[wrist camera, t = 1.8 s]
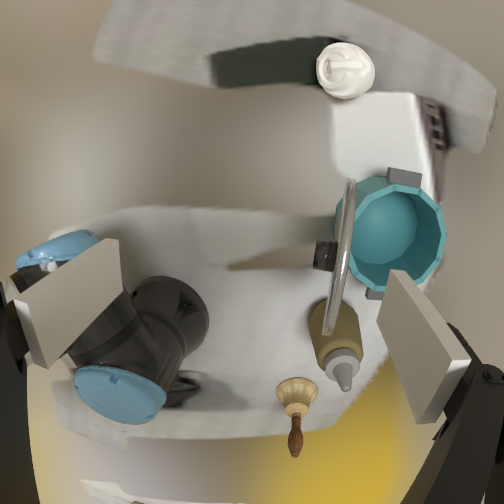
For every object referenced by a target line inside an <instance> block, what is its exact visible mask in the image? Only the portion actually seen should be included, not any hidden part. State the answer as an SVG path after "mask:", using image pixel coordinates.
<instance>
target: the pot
mask: <svg viewBox="0 0 504 504" xmlns="http://www.w3.org/2000/svg"><path fill="white" fill-rule="evenodd" d="M421 178H422V174H420V173H416V172H411V171H406V170H401V169H395V168H390V167H388V171H387V178H385V177H378V176H373V177H370V178H368V179H366V180H363V181H361V182H359V183H356V206H355V218H354V227H353V236H352V243H351V250H350V257H349V263H348V266H349V268H350V270H351V272H352V275H353V276H354V277H356V278H357V279H358V280H360V281H361V282H362V283H364V284H365V285H367V289H366V294H365V296H366V298H367V299H370V300H383V296H384V292H385V289H386V285H387V281H388V277H389V273H390V269H393V270H403V271H406V272H407V274H408V275H409V276H410V277H411V279H412V280H413V281H414V282H415V284H416V285H417V284H420V283H422V282H423V281H424V280H425V279H426V278H427V277H428V275H429V274H430V273H431V272H432V270H433V269H434V268H435V267H436V265H437V264H438V263H439V262H440V260H441V256H442V252H443V248H444V243H445V239H446V235H447V233H446V229H445V225H444V221H443V217H442V213H441V209H440V207H439V206H438V205H437V204H436V203H435V202H434V201H433V200H432V199H431V198H430V197H429V196H428V195H427V194H426V193H425V192H424V191H423V190H422V189H421V188H420V186H421ZM342 203H343V198H342V199H341V201H340V202H339V203H338V205H337V208H336V215H335V222H334V229H333V231H334V233H335V236H334V240H335V241H336V240H337V234H338V227H339V220H340V215H341V210H342Z"/></svg>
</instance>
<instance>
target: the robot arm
mask: <svg viewBox="0 0 504 504" xmlns="http://www.w3.org/2000/svg"><path fill="white" fill-rule="evenodd" d="M15 268H16V269H17V270H18V271H17V272H16V273H14V274H13V275H11V276H9V277H8V278H7V281H6V286H5V290H3V287H2V283H1V282H0V504H40V501H39V497H38V492H37V487H36V481H35V475H34V469H33V463H32V455H31V448H30V438H29V426H28V410H27V367H28V366H30V365H31V364H32V363H33V362H34V364H37V365H39V366H41V367H44V368H46V369H49V368H50V367H51V366H52V364H54V362H55V361H56V360H58V359H59V358H61V357H62V356H63V355H64V354H66V353H68V354H69V356H70V357H71V359H72V360H73V361H74V363H75V364H76V366H77V367H78V369H77V370H76V372H75V374H74V379H73V382H74V387H75V390H76V392H77V394H78V395H79V396H80V398H81V399H82V400H83V401H84V402H85V403H86V404H87V405H88V406H89V407H90V408H92V409H93V410H94V411H96V412H98V413H99V414H101V415H103V416H105V417H107V418H109V419H112V420H114V421H117V422H120V423H124V424H132V425H138V424H144V423H147V422H149V421H151V420H153V419H154V418H155V417H156V415H157V414H158V412H159V410H160V408H161V407H162V405H163V404H164V403H165V402H166V398H167V396H168V393H169V391H170V389H171V386H172V384H173V382H174V379H175V377H176V375H177V373H178V370H179V368H180V366H181V363H182V361H183V359H184V358H185V357H186V356H188V355H189V354H190V353H191V352H192V351H194V350H195V349H197V348H198V347H199V346H200V344H201V343H202V342H203V340H204V338H205V335H206V333H207V330H208V326H209V316H208V312H207V309H206V306H205V304H204V302H203V301H202V299H201V298H200V296H199V295H198V294H197V293H196V292H195V291H194V290H193V289H192V288H190V287H189V286H188V285H186V284H185V283H183V282H181V281H179V280H176V279H173V278H170V277H163V276H158V277H151V278H148V279H146V280H144V281H142V282H141V283H140V284H139V285H138V286H137V287H136V288H135V289H134V290H133V291H132V292H131V294H130V295H129V294H128V292H127V290H126V288H125V287H124V285H123V283H122V276H121V265H120V253H119V240H117V239H108V238H105V239H104V240H102V241H99V239H98V238H97V236H96V235H95V234H94V233H93V232H91V231H89V230H78V231H74V232H71V233H68V234H65V235H62V236H59V237H57V238H54V239H52V240H49V241H47V242H45V243H43V244H40V245H38V246H36V247H35V248H34V249H31V250H29V251H27V252H25V253H23V254H22V255H20V256H18V257H17V258H16V261H15ZM376 322H377V324H378V326H379V329H380V331H381V333H382V336H383V338H384V340H385V343H386V345H387V348H388V350H389V352H390V355H391V357H392V360H393V362H394V365H395V367H396V370H397V372H398V375H399V377H400V380H401V383H402V385H403V388H404V390H405V393H406V396H407V398H408V401H409V404H410V407H411V409H412V412H413V415H414V418H415V421H416V424H428V423H435V422H436V421H437V419H438V418H439V416H440V415H441V413H442V411H443V410H444V413H445V415H446V417H447V419H446V421H445V422H444V424H443V425H442V426H441V428H440V430H439V431H438V432H437V434H436V435H435V437H434V438H433V439H432V440H434V441H435V442H434V444H433V446H432V448H431V450H430V452H429V454H428V456H427V458H426V460H425V462H424V464H423V466H422V468H421V470H420V472H419V473H418V475H417V477H416V479H415V480H414V482H413V484H412V485H411V487H410V489H409V491H408V492H407V494H406V495H405V497H404V499H403V500H402V502H401V503H400V504H481V502H482V499H483V496H484V493H485V500H484V504H504V373H503V372H502V371H501V370H500V369H499V368H497V367H495V366H493V365H489V364H482V362H481V361H480V360H479V358H478V357H477V355H476V354H475V352H474V351H473V350H472V348H471V347H470V346H468V343H467V341H466V340H465V339H464V337H463V336H462V335H461V333H460V332H459V330H458V329H456V328H455V327H454V326H452V325H451V324H450V323H446V322H445V321H444V320H443V318H442V317H441V316H440V314H439V313H438V312H437V310H436V309H435V308H434V307H433V305H432V304H431V302H430V301H429V300H428V299H427V297H426V296H425V295H424V294H423V292H422V291H421V290H420V288H419V287H418V286H417V285H416V284H415V282H414V281H413V280H412V279H411V277H410V276H409V275H408V274H407V272H406V271H403V270H393V269H390V273H389V277H388V281H387V285H386V289H385V292H384V296H383V300H382V303H381V307H380V311H379V314H378V317H377V321H376Z"/></svg>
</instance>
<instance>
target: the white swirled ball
mask: <svg viewBox="0 0 504 504" xmlns="http://www.w3.org/2000/svg"><path fill="white" fill-rule="evenodd" d="M316 73H317V78H318V81H319V83H320V85H321V86H322V87H323V88H324V90H325V91H326V92H327V93H329V94H330V95H332V96H334V97H337V98H341V99H350V98H354V97H358V96H360V95H362V94H363V93H365V92H366V91H367V90H368V89H369V88H370V87H371V86H372V85H373V81H374V77H375V69H374V65H373V63H372V61H371V59H370V57H369V56H368V55H367V53H366V52H365V51H364V50H362V49H361V48H359V47H358V46H355V45H353V44H349V43H335V44H331V45H329V46H327V47H326V48H325V49H324V50H323V51H322V53H321V54H320V56H319V57H318V58H317V65H316Z"/></svg>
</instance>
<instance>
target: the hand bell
mask: <svg viewBox="0 0 504 504" xmlns="http://www.w3.org/2000/svg"><path fill="white" fill-rule="evenodd" d="M317 394H318V389H317V386H316V385H315V384H314V383H313V382H312V381H310V380H308V379H305V378H291V379H287V380H285V381H283V382H282V383H281V384H280V385H279V386H278V387H277V390H276V395H277V397H278V399H279V400H280V401H281V402H282V403H283V404H284V407H285V413H286V414H287V415H288V416H289V417H292V429H291V431H290V434H289V438H288V447H289V450H290V453H291V456H292V457H298V456H299V453H300V451H301V449H302V446H303V435H302V432H301V429H300V424H301V417H303V416H305V415H306V414H307V413H308V411H309V405H310V403H311V402H312V401H313V400H314V399H315V398H316V396H317Z"/></svg>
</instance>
